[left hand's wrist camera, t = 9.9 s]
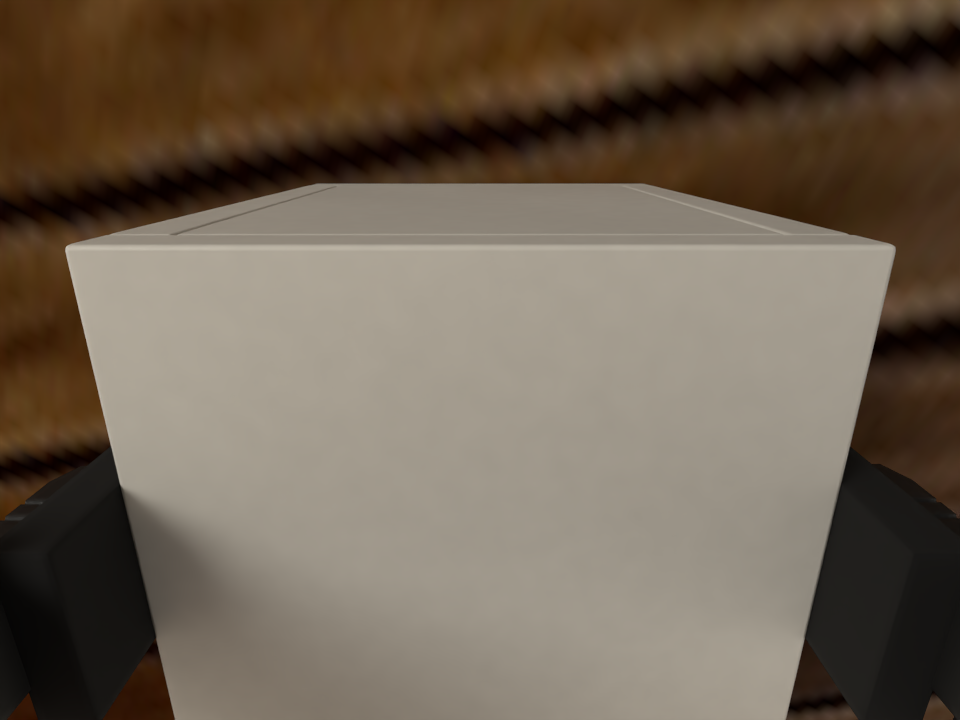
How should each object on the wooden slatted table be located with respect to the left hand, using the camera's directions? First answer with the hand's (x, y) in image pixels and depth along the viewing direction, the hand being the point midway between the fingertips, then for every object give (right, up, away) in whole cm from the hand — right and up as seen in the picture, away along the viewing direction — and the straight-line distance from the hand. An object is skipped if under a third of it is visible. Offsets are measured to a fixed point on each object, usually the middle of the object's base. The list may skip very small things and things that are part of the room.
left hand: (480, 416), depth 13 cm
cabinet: (0, -4, +8) cm, 9 cm away
